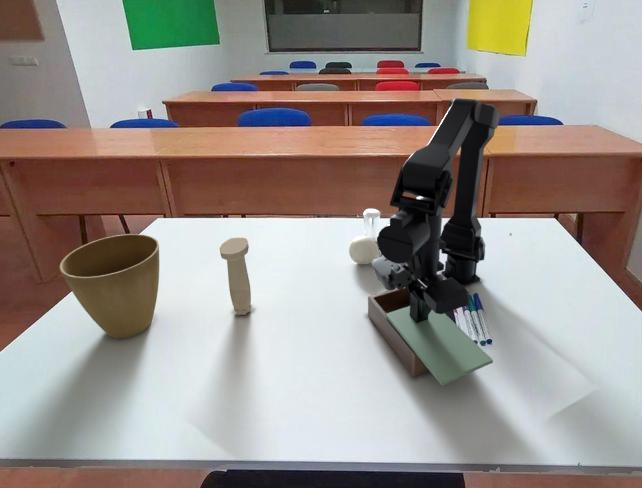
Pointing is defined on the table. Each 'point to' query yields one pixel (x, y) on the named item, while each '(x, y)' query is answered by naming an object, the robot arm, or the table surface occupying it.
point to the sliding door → (438, 342)
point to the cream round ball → (363, 250)
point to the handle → (237, 273)
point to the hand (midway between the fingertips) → (419, 313)
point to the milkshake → (371, 223)
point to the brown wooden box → (377, 313)
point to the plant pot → (116, 281)
